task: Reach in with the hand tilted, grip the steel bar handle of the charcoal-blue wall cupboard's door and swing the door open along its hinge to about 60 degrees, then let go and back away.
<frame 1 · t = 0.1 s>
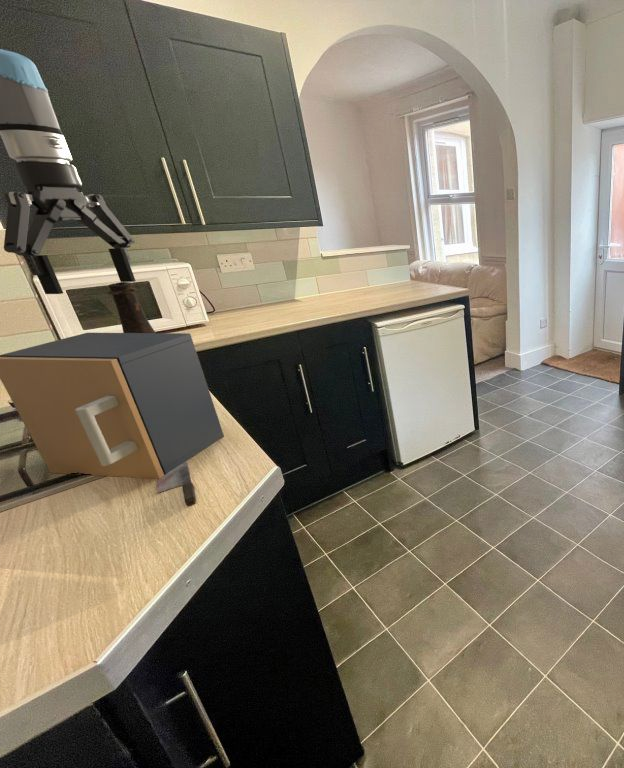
hand: (94, 287, 80), 31 cm above the worktop, tool pointing down, fingers open, 13 cm apart
cupboard door: (64, 427, 69), point 11 cm above the worktop, hinge at 0.0°
cleaver: (176, 488, 72), on the worktop, touching cupboard
dark brown vase: (160, 385, 116), on the worktop
ginger root: (130, 355, 144), on the worktop
cupboard: (146, 452, 83), on the worktop
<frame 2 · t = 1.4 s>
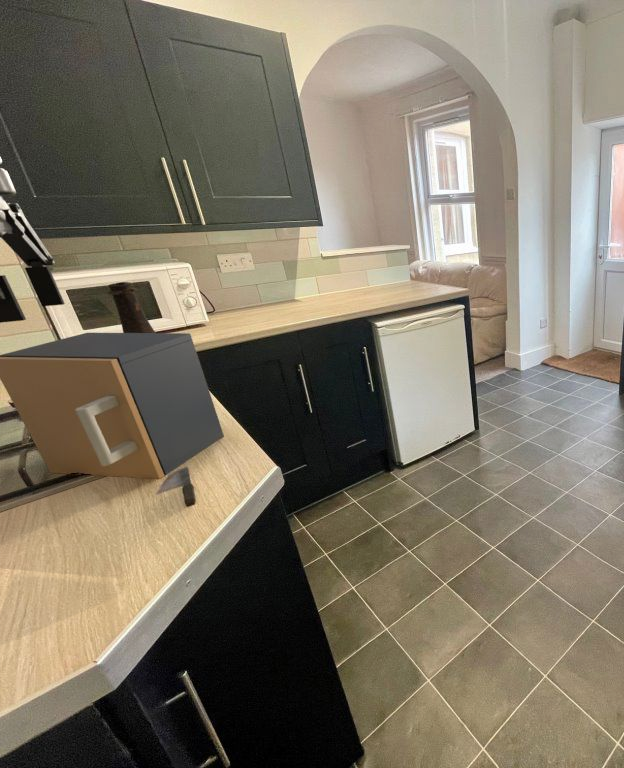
hand: (34, 312, 68), 29 cm above the worktop, tool pointing down, fingers open, 13 cm apart
cleaver: (176, 490, 72), on the worktop
everything else where it was.
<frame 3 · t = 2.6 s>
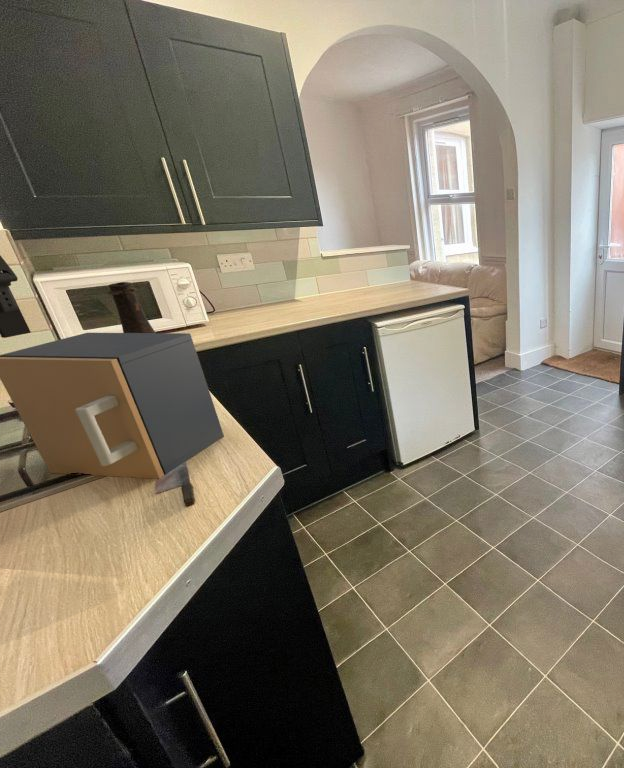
nothing on the worktop moved.
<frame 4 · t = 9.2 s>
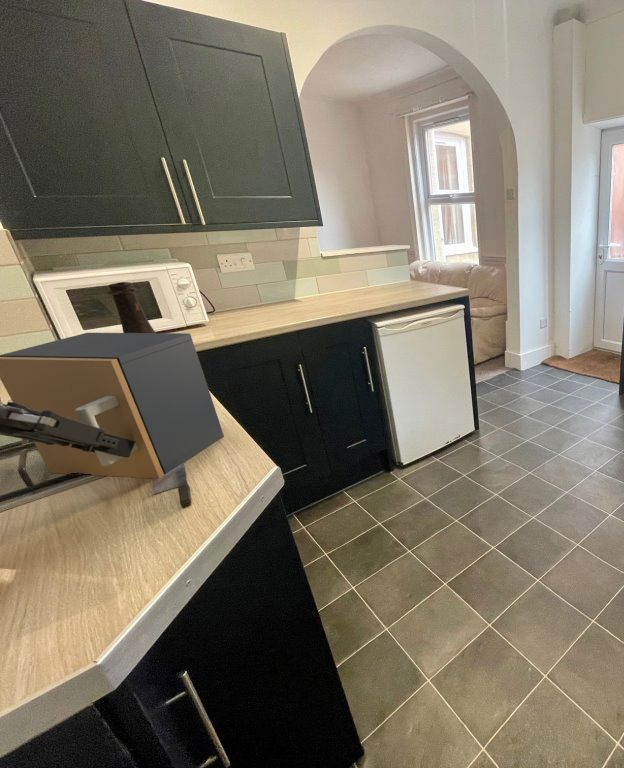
hand: (123, 449, 70), 7 cm above the worktop, tool tilted 45°, fingers closed on cupboard door, 2 cm apart
cupboard door: (64, 427, 69), point 11 cm above the worktop, hinge at 0.0°, touching gripper
cleaver: (172, 490, 71), on the worktop, touching cupboard
everything else where it was.
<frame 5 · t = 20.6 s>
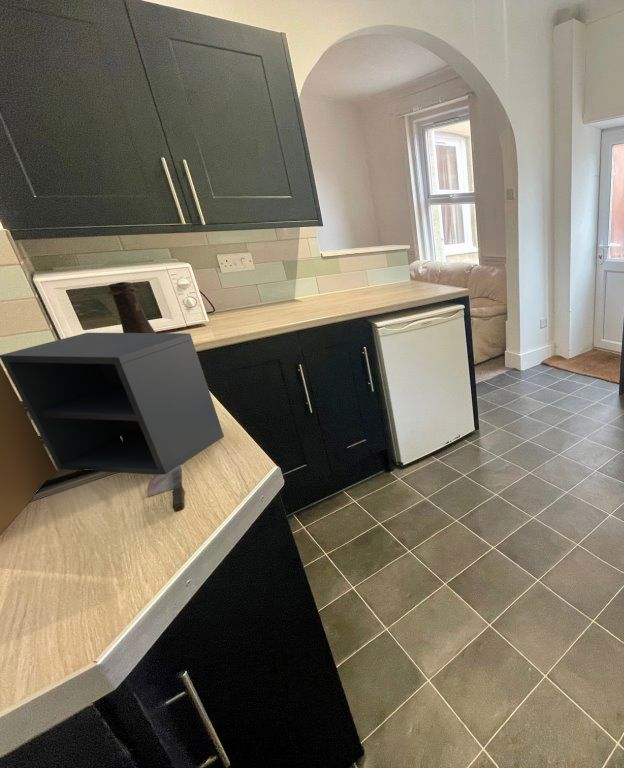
at the end: cupboard door at +56° (first picture: +0°); the gripper is holding nothing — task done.
